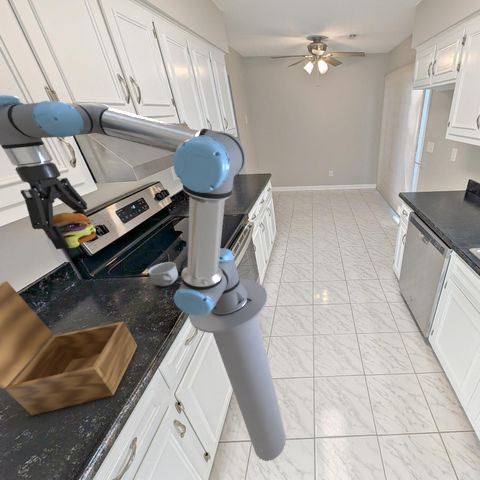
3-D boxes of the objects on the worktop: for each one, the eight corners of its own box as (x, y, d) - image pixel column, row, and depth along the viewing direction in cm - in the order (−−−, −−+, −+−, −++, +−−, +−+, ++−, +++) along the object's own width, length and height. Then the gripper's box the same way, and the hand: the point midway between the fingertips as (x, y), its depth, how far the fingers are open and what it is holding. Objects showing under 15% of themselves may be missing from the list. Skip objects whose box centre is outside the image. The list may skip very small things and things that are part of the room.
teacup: (151, 282, 116) (145, 267, 113) (176, 272, 123) (171, 258, 119) (159, 296, 107) (152, 280, 103) (185, 284, 113) (180, 269, 110)
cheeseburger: (48, 254, 69) (30, 218, 66) (64, 247, 78) (49, 216, 76) (94, 242, 73) (79, 209, 71) (104, 238, 82) (90, 208, 80)
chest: (137, 345, 84) (123, 321, 79) (113, 395, 69) (94, 368, 64) (71, 360, 80) (52, 335, 75) (31, 415, 66) (5, 389, 61)
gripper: (50, 158, 75) (85, 225, 85) (-28, 175, 55) (31, 260, 65) (78, 156, 77) (110, 222, 87) (12, 171, 56) (64, 255, 66)
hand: (76, 238), depth 76 cm, fingers closed on cheeseburger, 11 cm apart
